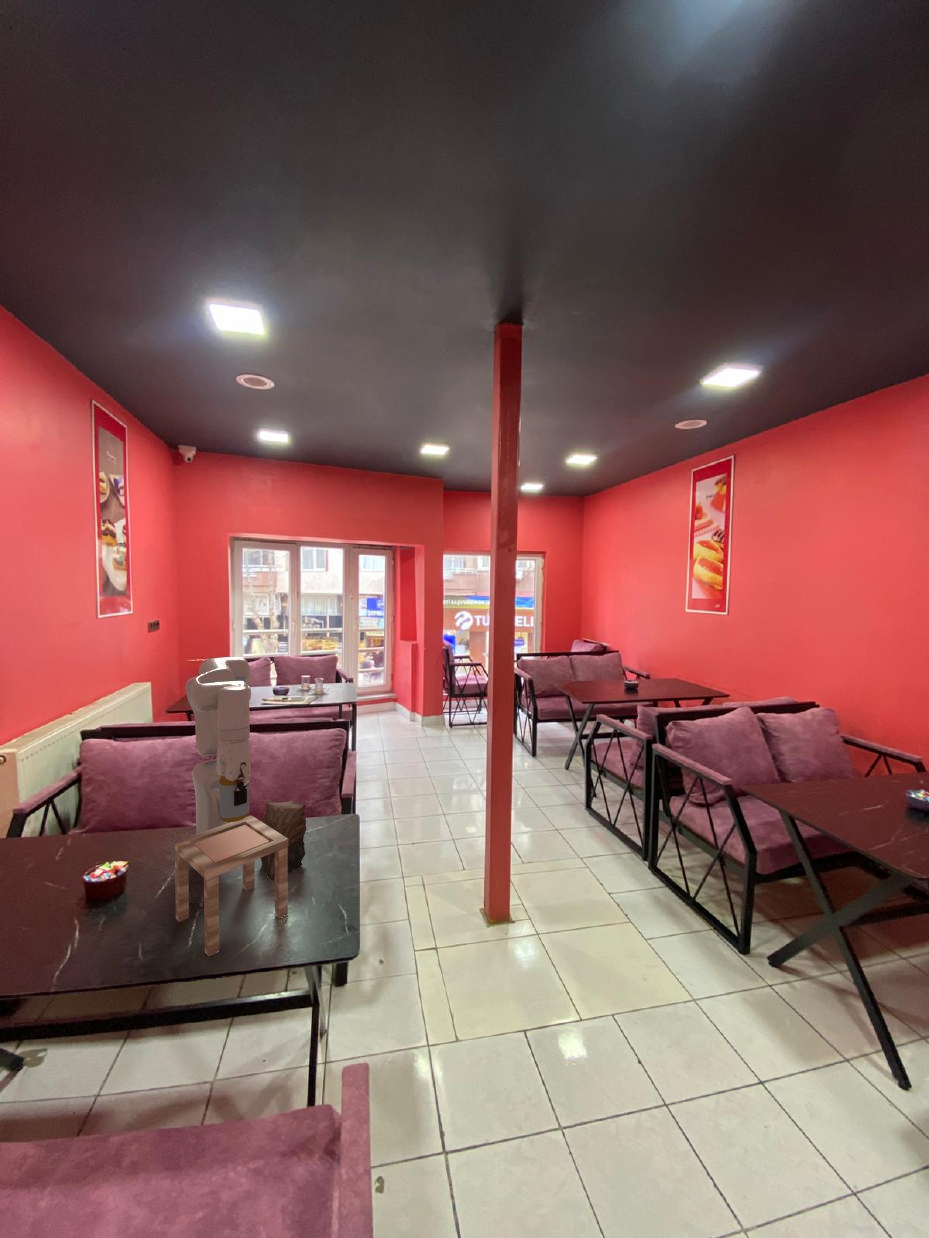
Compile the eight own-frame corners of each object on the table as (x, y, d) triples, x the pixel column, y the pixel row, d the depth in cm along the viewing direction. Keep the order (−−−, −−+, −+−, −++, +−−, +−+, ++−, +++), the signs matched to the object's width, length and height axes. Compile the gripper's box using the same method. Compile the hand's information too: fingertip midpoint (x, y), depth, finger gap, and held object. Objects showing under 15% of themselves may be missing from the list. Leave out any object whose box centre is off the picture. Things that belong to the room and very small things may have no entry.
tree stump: (257, 863, 155) (257, 803, 154) (296, 850, 163) (296, 793, 162) (269, 881, 145) (269, 817, 144) (310, 867, 153) (310, 806, 152)
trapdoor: (192, 846, 128) (192, 842, 128) (244, 827, 138) (244, 824, 138) (215, 866, 118) (215, 862, 118) (269, 844, 129) (269, 841, 129)
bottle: (255, 813, 128) (254, 758, 128) (234, 824, 122) (234, 766, 121) (234, 809, 131) (234, 755, 130) (213, 820, 124) (212, 763, 124)
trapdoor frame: (174, 918, 128) (173, 842, 127) (251, 883, 144) (251, 815, 143) (207, 957, 114) (206, 872, 113) (288, 914, 130) (288, 838, 129)
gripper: (205, 730, 128) (205, 795, 129) (234, 743, 117) (235, 815, 118) (233, 724, 134) (234, 787, 135) (263, 736, 123) (264, 805, 124)
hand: (234, 799), depth 126 cm, fingers closed on bottle, 6 cm apart
